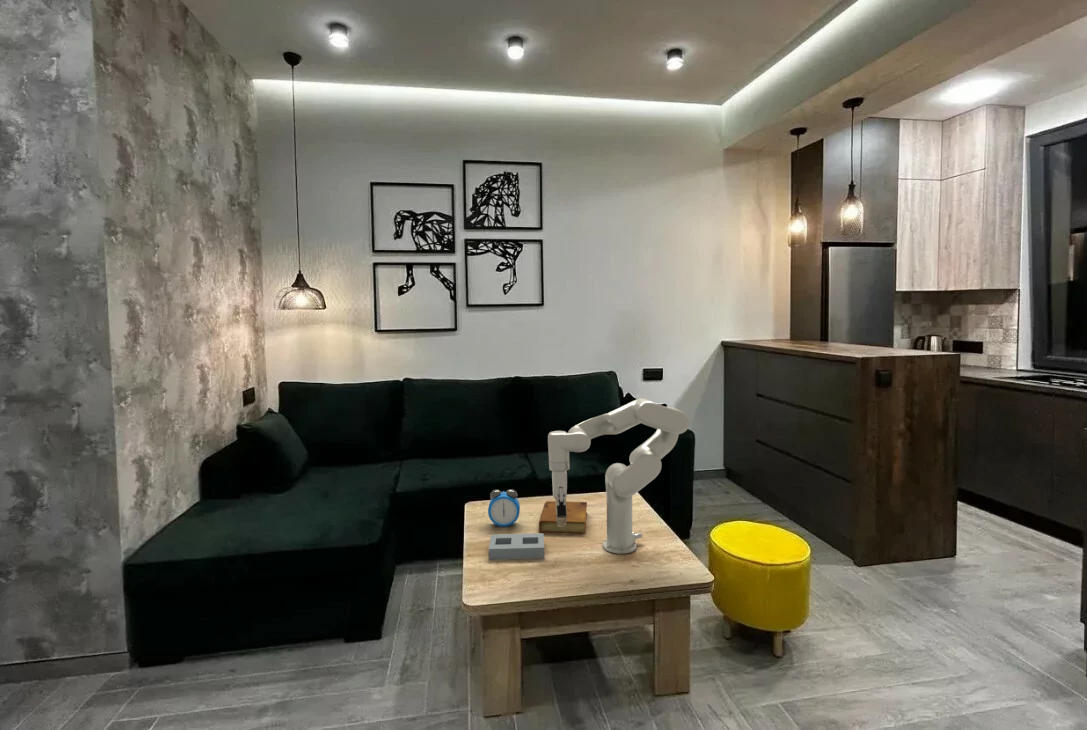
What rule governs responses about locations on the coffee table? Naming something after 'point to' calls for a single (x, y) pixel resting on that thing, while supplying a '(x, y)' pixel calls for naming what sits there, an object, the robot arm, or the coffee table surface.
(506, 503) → the alarm clock
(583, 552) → the coffee table surface
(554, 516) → the diary
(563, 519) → the dowel
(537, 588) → the coffee table surface
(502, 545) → the board
